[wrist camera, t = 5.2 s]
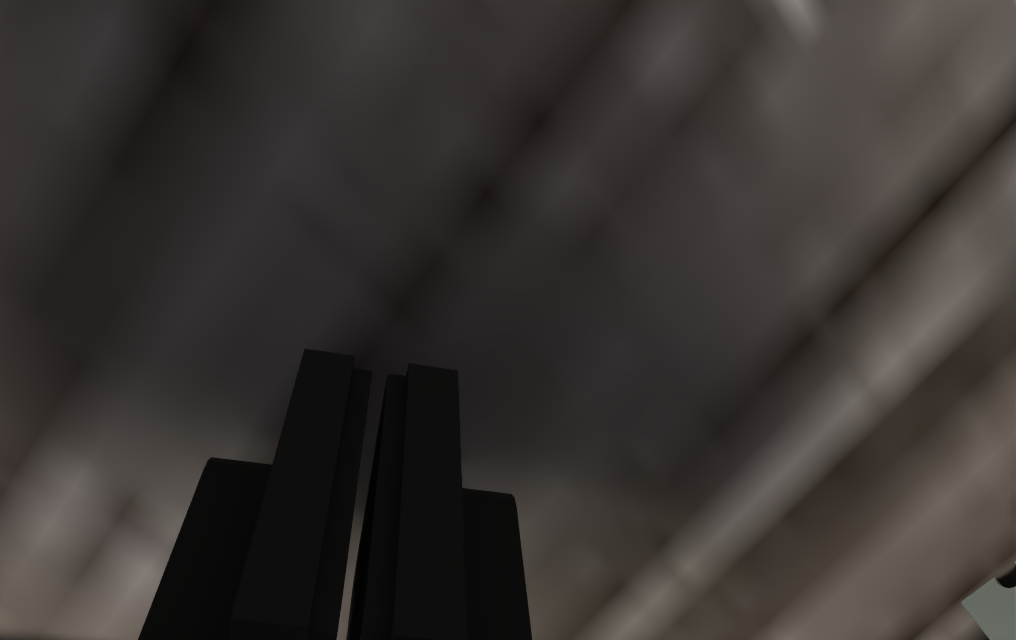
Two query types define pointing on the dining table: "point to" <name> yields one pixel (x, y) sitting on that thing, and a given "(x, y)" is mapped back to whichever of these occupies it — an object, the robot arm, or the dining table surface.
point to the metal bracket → (994, 610)
